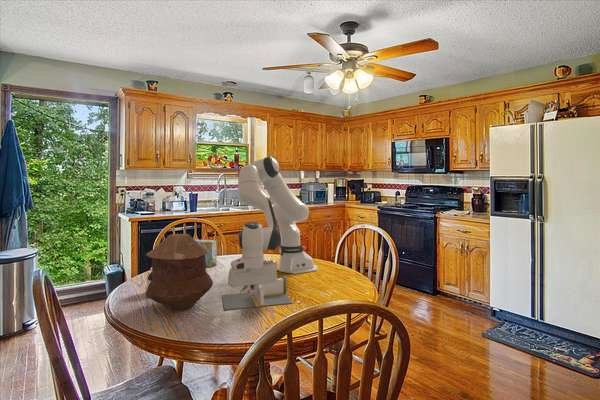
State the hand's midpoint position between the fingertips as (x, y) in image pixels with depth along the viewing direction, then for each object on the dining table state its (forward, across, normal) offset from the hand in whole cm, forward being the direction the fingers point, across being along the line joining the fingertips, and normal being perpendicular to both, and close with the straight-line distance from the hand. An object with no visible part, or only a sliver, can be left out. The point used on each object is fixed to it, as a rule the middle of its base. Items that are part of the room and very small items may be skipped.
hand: (253, 294), depth 146 cm
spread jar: (+5, +36, -32) cm, 49 cm away
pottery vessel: (+5, +28, -9) cm, 30 cm away
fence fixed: (+4, -10, -9) cm, 14 cm away
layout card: (+4, -3, -6) cm, 8 cm away
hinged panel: (+4, -3, -2) cm, 5 cm away
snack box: (+4, +15, -75) cm, 76 cm away
